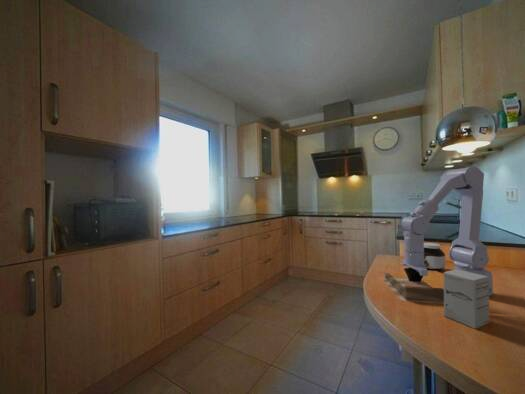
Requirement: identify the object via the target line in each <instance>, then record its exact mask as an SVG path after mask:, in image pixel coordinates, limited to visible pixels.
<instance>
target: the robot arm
mask: <svg viewBox="0 0 525 394" xmlns="http://www.w3.org/2000/svg"><path fill="white" fill-rule="evenodd" d="M484 180H485V173H484V172H483V171H482V170H481V169H480V168H479V167H477V166H472V165H471V166H468V167H463V168H456V169H454V168H453V169H447V170H445V172H443V174H442V175H441V176H440V181H439V183H438V184H437V185H436V186H435V188H434V190H433V191H432V193H431V194H430V196H429V197H428V198H427V199H423V200H420V201H419V202H418V203H417V206H416V207H415V209H414V210H413V211H411V212H410V213H409V215H408V216H405V217H404V218H403V219H402V220H401V222H400V223H399V227H400V229H401V231H402V235H403V238H404V239H403V240H404V241H403V242H404V245H403V246H404V258H403V257H402V262H401V261H400V265H401V266H404V267H405V268H403V270H404V272H405V274H406V277H407V279H409V281H414V282H421V279H422V280H423V277H428V276H429V273H428V272H429V270H427V269H426V267H425V264H424V243H425V240H424V239H425V237H424V236H425V233H426V232H427V231H428V230H429V224H430V223H431V222H430V221H431V220H432V219H433V217H434V216H435V215H436V213H437V212H438V211H439V210H440V209H439V208H440V207H439V204H441V202H442V201H444V199H446V197H447V196H448V195H449V194H450V193H451V192H452V191H456V192H458V193H459V194H460V195H461V196H462V197H461V209H460V219H459V231H458V237H457V238H456V239H454V240H452V241H451V246H450V248H449V250H448V256H449V259H450V260H451V261H452V263H453V264H454V270H455V269H459V270H463V271H467V272H471V273H475V274H479V275H484V276H488V277H489V297H490V296H493V295H495V293H494V287H493V285H494V283H493V282H494V280H493V274H492V272H491V271H490V270H489V269H488V270H487V269H485V267H487V265H488V263H489V260H490V259H489V254H488V247H487V246H486V245H485V244H484V243H483V242H481V240H480V231H481V219H482V210H483V209H482V207H483V198H484Z"/></svg>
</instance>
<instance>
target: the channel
mask: <svg viewBox="0 0 525 394" xmlns="http://www.w3.org/2000/svg"><path fill="white" fill-rule="evenodd" d="M381 279H382V280H383V281H384V283H385V284H386V285H387V286H388V287H389V288H390V289H391V291H393V293H394V294H395V295H396V296H397V297H398V299H399V300H401V301H402V302H413V303H414V302H416V303H417V302H418V303H428V304H429V303H430V304H431V303H432V304H443V305H444V288H443V287H442V288H441V287H433V286H431V285H430V284H428V285H429V286H431V287H432V288H428V287H412V286H405V281H409V279H408V278H400V277H399V278H398V277H394V276H392V274H391V273H389V272H384V277H383V276H382V277H381ZM421 282H425V283H427V282H426V281H424V280H423V278H422V279H421Z"/></svg>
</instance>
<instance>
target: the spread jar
mask: <svg viewBox="0 0 525 394" xmlns="http://www.w3.org/2000/svg"><path fill="white" fill-rule="evenodd" d="M446 263H447V259H446V253H445V252H444V251H443V250H442V249H441V244H439V243H435V242H433V243H432V242H424V264H425V267H426V269H427V270H428V271H436V272H441V271H443V270H444V269H445V268H446V267H447V265H446Z"/></svg>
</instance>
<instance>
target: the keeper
mask: <svg viewBox="0 0 525 394" xmlns="http://www.w3.org/2000/svg"><path fill="white" fill-rule="evenodd" d="M425 282H426V281H424V282H414V281H405V286H412V287H428V288H432V287H433V286H431V285H430V284H428V283H427V282H426V283H425ZM429 285H430V286H429Z"/></svg>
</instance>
